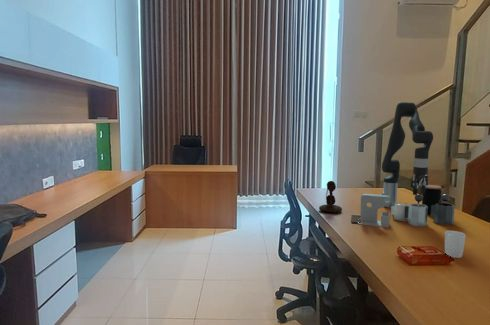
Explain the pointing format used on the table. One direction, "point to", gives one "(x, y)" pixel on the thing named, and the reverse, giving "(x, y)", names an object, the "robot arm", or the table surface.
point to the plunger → (418, 199)
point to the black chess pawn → (330, 200)
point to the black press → (443, 211)
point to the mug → (399, 211)
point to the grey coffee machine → (374, 210)
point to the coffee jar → (431, 196)
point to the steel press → (416, 214)
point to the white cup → (454, 243)
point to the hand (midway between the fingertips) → (418, 194)
